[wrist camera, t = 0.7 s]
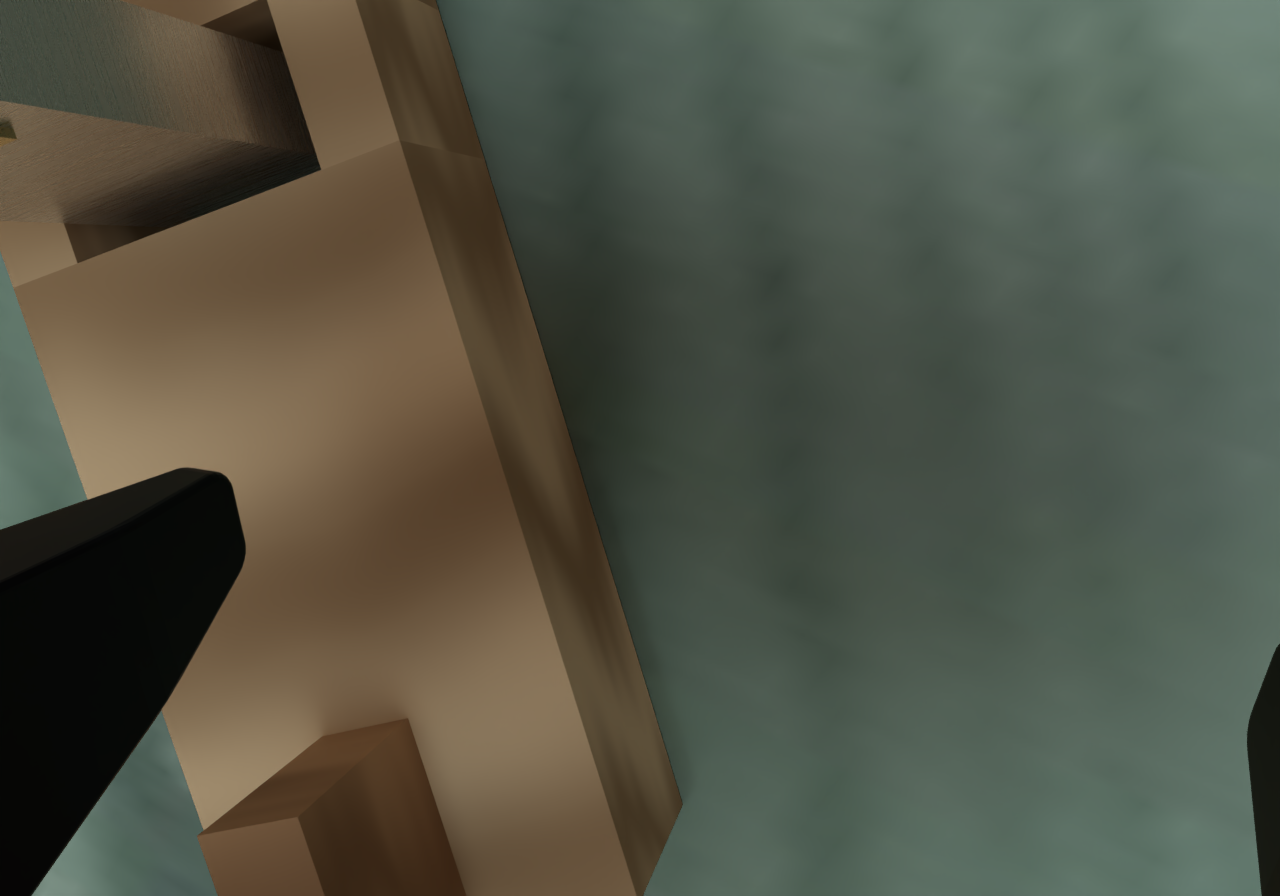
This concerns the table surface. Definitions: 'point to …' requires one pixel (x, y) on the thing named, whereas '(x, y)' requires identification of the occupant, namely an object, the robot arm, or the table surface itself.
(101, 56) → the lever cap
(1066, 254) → the table surface
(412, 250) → the hand plane
